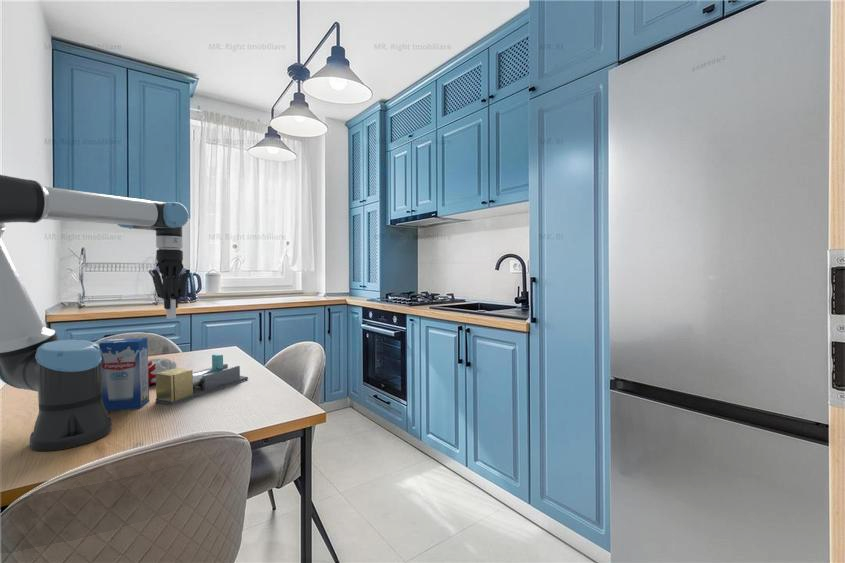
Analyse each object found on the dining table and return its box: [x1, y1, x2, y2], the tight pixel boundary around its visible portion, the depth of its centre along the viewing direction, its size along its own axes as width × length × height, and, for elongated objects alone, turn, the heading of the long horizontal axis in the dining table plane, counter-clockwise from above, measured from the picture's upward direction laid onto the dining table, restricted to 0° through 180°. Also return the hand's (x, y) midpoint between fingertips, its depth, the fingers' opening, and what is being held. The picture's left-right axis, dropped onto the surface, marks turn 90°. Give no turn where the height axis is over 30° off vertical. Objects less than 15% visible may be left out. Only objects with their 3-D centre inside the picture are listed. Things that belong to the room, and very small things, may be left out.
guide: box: [155, 363, 241, 402], centre depth 131 cm, size 25×7×8 cm, turn 157°
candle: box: [148, 357, 178, 386], centre depth 139 cm, size 9×11×15 cm
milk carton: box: [98, 337, 150, 412], centre depth 117 cm, size 10×6×20 cm, turn 105°
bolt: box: [193, 353, 224, 387], centre depth 131 cm, size 16×4×8 cm, turn 157°
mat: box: [155, 375, 249, 406], centre depth 133 cm, size 29×8×1 cm, turn 157°
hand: (171, 318), depth 134 cm, fingers closed
